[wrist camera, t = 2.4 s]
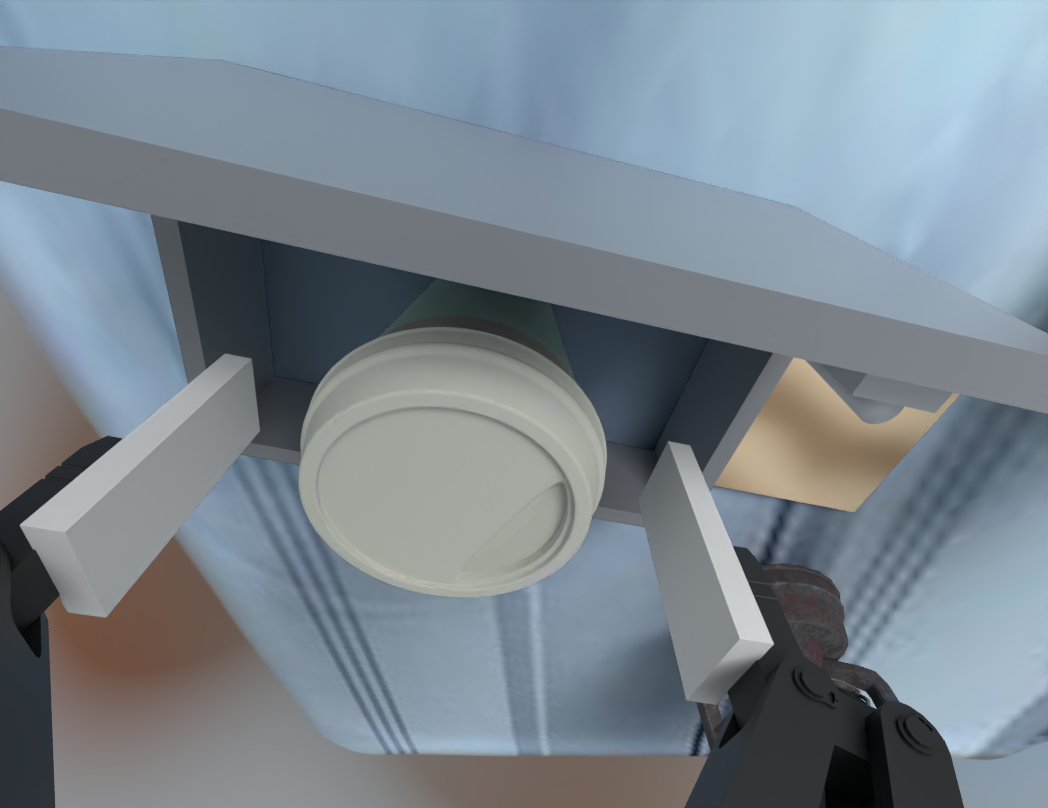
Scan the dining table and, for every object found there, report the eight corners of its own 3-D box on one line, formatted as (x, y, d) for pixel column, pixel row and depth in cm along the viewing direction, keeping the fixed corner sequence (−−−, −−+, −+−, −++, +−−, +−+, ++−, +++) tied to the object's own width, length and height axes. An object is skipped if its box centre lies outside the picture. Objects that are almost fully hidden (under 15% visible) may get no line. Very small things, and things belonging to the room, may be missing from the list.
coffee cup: (449, 414, 25) (388, 630, 15) (361, 266, 21) (195, 435, 11) (605, 364, 23) (651, 577, 13) (543, 188, 19) (544, 309, 9)
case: (220, 60, 17) (-361, 22, 6) (794, 206, 19) (1131, 374, 8) (260, 395, 25) (46, 634, 14) (657, 471, 27) (733, 730, 16)
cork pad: (782, 319, 21) (786, 323, 21) (977, 364, 22) (983, 368, 22) (691, 476, 27) (693, 481, 27) (850, 507, 28) (854, 512, 28)
